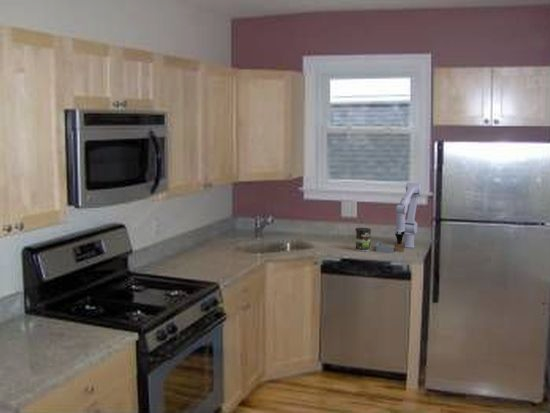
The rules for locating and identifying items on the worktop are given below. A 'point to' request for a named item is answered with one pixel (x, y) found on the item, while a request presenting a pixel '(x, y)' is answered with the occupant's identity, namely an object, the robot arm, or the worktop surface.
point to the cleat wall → (383, 248)
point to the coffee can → (362, 239)
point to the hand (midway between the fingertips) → (399, 243)
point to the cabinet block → (399, 247)
